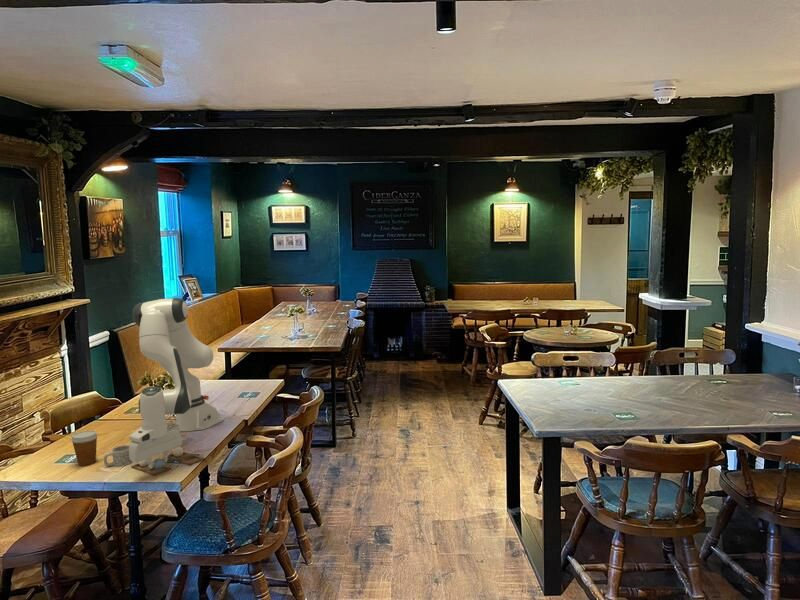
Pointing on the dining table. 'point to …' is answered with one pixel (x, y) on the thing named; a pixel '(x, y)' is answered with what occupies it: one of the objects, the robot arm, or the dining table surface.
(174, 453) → the ivory ball
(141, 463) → the ivory ball
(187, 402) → the robot arm
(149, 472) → the tray
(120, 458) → the mug
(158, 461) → the ball blue
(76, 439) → the disposable coffee cup
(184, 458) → the rack
